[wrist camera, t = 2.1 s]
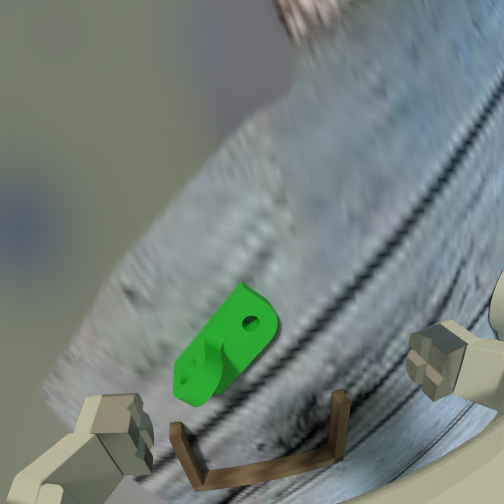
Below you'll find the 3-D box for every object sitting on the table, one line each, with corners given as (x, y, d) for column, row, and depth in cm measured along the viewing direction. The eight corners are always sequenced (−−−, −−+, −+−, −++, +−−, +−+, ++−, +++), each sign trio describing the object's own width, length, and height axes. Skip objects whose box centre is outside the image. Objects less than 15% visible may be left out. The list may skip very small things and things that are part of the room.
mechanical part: (217, 384, 35) (224, 432, 27) (174, 361, 33) (172, 408, 26) (284, 310, 34) (307, 349, 26) (240, 280, 32) (255, 316, 24)
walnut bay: (341, 389, 38) (350, 402, 36) (336, 447, 42) (343, 460, 39) (169, 422, 35) (169, 439, 33) (194, 477, 39) (195, 491, 36)
